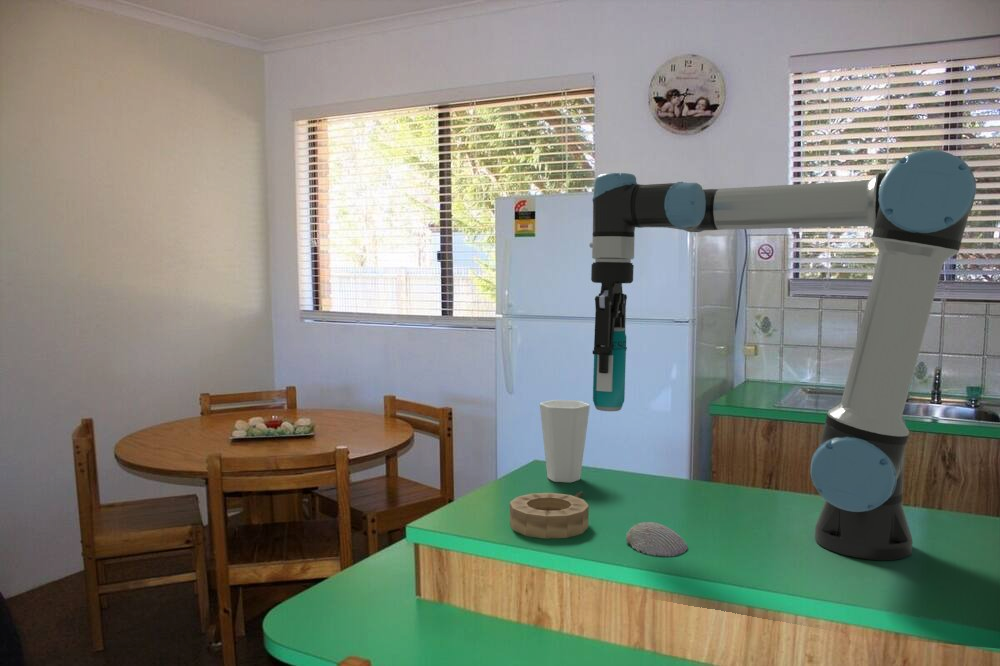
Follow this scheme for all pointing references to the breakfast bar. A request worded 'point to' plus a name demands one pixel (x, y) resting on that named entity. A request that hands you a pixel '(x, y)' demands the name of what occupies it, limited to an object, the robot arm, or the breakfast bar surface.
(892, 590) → the breakfast bar surface
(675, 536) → the seashell
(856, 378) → the robot arm
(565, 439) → the cup
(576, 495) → the brown stick
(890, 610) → the breakfast bar surface
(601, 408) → the beverage can
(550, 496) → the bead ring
